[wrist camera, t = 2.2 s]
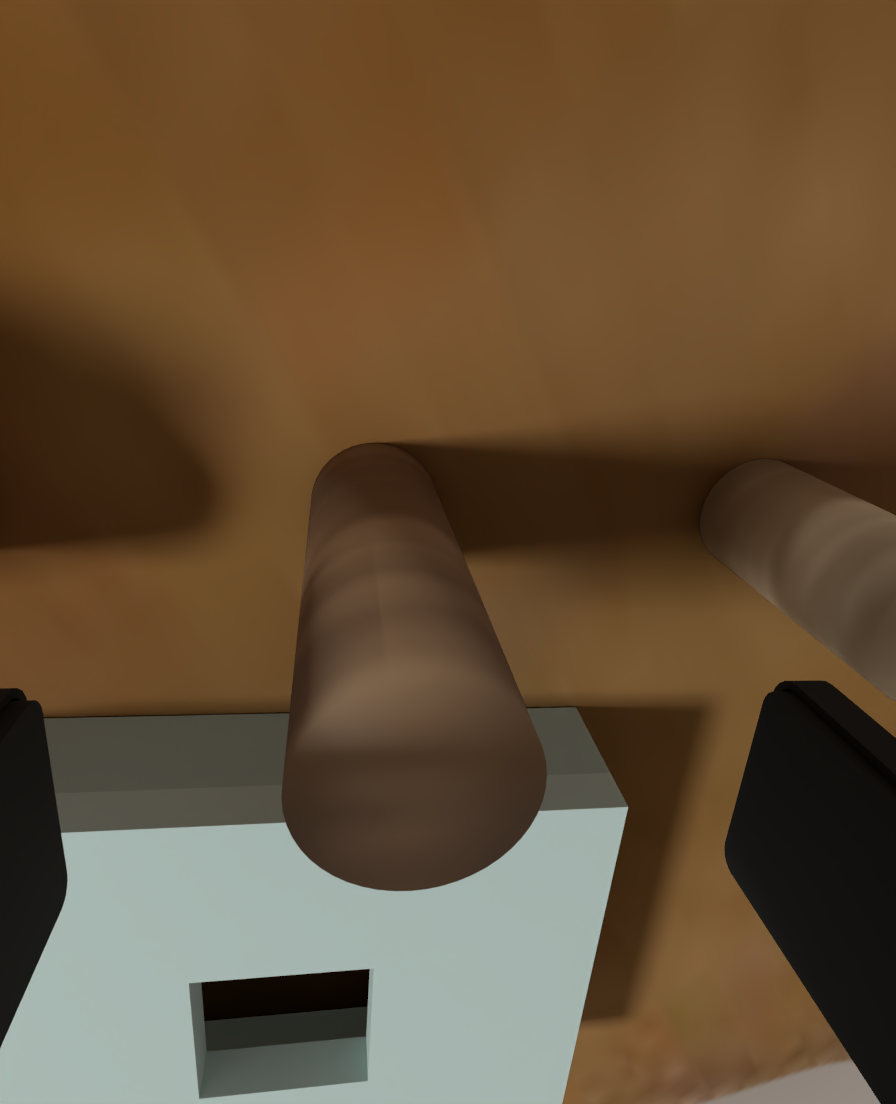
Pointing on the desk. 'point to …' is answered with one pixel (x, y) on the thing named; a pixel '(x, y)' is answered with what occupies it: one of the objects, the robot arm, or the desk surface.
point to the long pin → (400, 691)
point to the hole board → (298, 934)
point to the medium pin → (812, 559)
